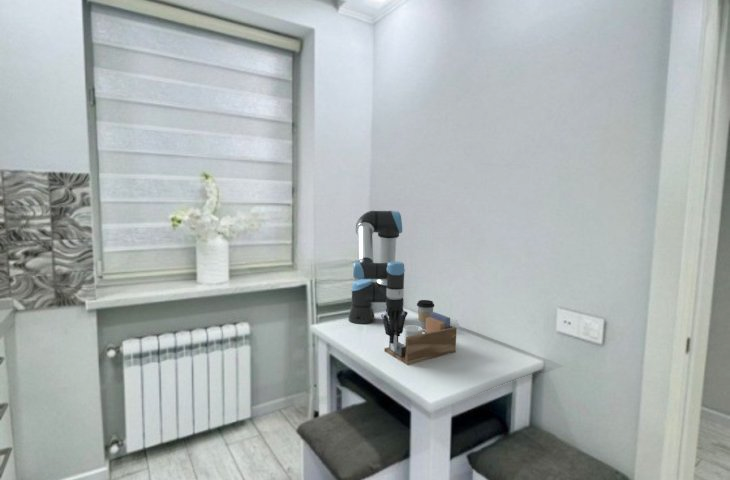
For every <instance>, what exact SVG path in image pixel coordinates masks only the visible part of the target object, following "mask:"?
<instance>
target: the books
mask: <svg viewBox="0 0 730 480" xmlns="http://www.w3.org/2000/svg"><path fill="white" fill-rule="evenodd" d="M450 325H451V317H450V316H449V317H448V316H446V315H444V314H440V313H438V312H435V311H433V312H432V313H430V317H428V318H426V327H425V330H426V331H427V333H428V332H433V331H438V330H442V329H447V328H450Z"/></svg>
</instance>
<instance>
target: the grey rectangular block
mask: <svg viewBox="0 0 730 480" xmlns="http://www.w3.org/2000/svg"><path fill="white" fill-rule="evenodd" d="M403 344H404V343H401V342H399V341H398V342H397V351H393V350H391V343H390V342H388V347H389V350H390V351H392V352H394V353H396V354H398V355H399V356H401V357H402V356H405V354H406V346H405V345H403Z"/></svg>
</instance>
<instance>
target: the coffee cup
mask: <svg viewBox="0 0 730 480" xmlns="http://www.w3.org/2000/svg"><path fill="white" fill-rule="evenodd" d="M416 306H417V315H418V324H419V325H418V326H419V327H421V328H422V329H425V327H426V318H428V317H430V313H432V312H434V307H435V303H434V301H432V300H429V299H420V300H418V302H417V303H416Z"/></svg>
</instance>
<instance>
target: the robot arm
mask: <svg viewBox="0 0 730 480" xmlns="http://www.w3.org/2000/svg"><path fill="white" fill-rule="evenodd" d="M355 233H356V235H357V259H356V261H357V262H354V263H353V267H352V268H353V269H352V271H353V275H352V276H353V279H355V281H353V282H352V284H351V308H350V311H349V314H348V319H347V320H348V321H349V322H350V323H353V324H359V325H365V324H366V325H367V324H370V323H373V322H375V318H376V317H375V313H374V310H373V303H374V304H375V303H380V304H383V303H384V304H385V305H386V309H385V312H384V313H382V314H381V315H380V317H381V318H382V321H383V327H384V331H385V335H386V336H389V342H390V343H391V350H393V351H397V342H399V337H400V336H401V334H403V333H404V327H405V322H406V318H407V316H408V314H409V313H408V311H406V310H404V303H405V302H404V295H405V294H404V293H405V290H404V289H405V271H406V269H405V264H404V263H403V262H402V261H396V249H397V248H396V246H397V239H398V238H399V237H400V234H403V222H402V215H401V213H400V212H399V211H398V210H397V211H396V210H370V211H367V212H364V213H363V214H361V216H360V217H359V218H358V220H357V221H356V225H355ZM374 233H377V237H379V239H380V241H379V242H380V244H379V262H374V245H373V244H374V243H373V234H374ZM373 280H375V281H373ZM389 342H388V343H389Z"/></svg>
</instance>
